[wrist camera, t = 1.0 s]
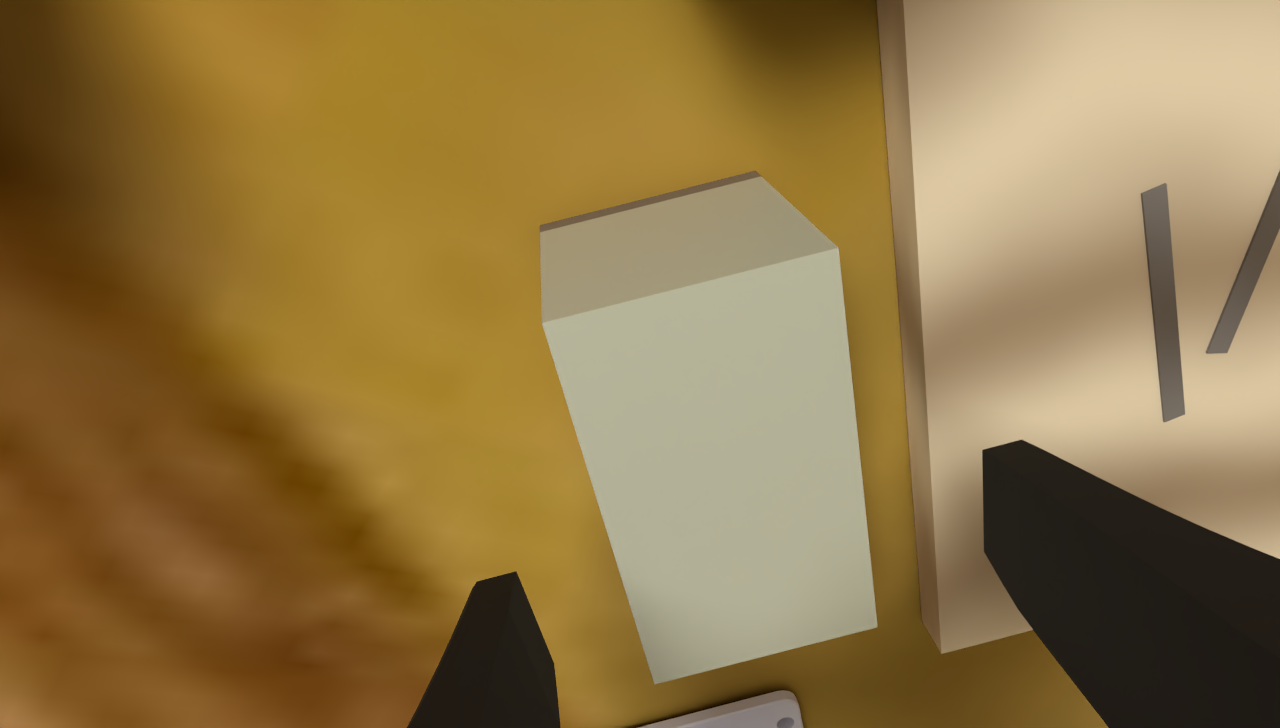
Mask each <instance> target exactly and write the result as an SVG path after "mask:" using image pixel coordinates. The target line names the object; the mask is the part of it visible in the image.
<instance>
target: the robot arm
mask: <svg viewBox="0 0 1280 728" xmlns="http://www.w3.org/2000/svg"><path fill="white" fill-rule="evenodd" d="M982 465H983V530H984V553H985V554H986V556H987V558H988V560H989V561H990V563H991V565H992V566H993V568H994V570H995V572H996V573H997V575H998V577H999V579H1000V580H1001V582H1002V584H1003V586H1004V587H1005V589H1006V590H1007V592H1008V594H1009V595H1010V597H1011V599H1012V600H1013V602H1014V604H1015V605H1016V607H1017V608H1018V610H1019V611H1020V613H1021V614H1022V616H1023V617H1024V618H1025V620H1026V621H1027V622H1028V624H1029V625H1030V626H1031V627H1032V629H1033V630H1034V631H1035V633H1036V634H1037V635H1038V637H1039V638H1040V639H1041V641H1042V642H1043V643H1044V644H1045V646H1046V647H1047V648H1048V650H1049V651H1050V652H1051V654H1052V655H1053V656H1054V658H1055V659H1056V660H1057V661H1058V663H1059V664H1060V665H1061V667H1062V668H1063V669H1064V670H1065V672H1066V673H1067V674H1068V676H1069V677H1070V678H1071V679H1072V681H1073V682H1074V683H1075V685H1076V686H1077V687H1078V688H1079V690H1080V691H1081V692H1082V694H1083V695H1084V696H1085V697H1086V699H1087V700H1088V701H1089V703H1090V704H1091V705H1092V706H1093V708H1094V709H1095V710H1096V712H1097V713H1098V714H1099V715H1100V717H1101V718H1102V719H1103V721H1104V722H1105V723H1106V724H1107V726H1108V727H1109V728H1280V559H1279V558H1276V557H1274V556H1271V555H1268V554H1266V553H1263V552H1261V551H1258V550H1256V549H1254V548H1251V547H1249V546H1246V545H1244V544H1242V543H1239V542H1237V541H1235V540H1232V539H1230V538H1228V537H1225V536H1223V535H1220V534H1218V533H1216V532H1213V531H1211V530H1209V529H1206V528H1204V527H1202V526H1200V525H1197V524H1195V523H1193V522H1191V521H1189V520H1186V519H1184V518H1182V517H1180V516H1177V515H1175V514H1173V513H1171V512H1169V511H1167V510H1165V509H1162V508H1160V507H1158V506H1156V505H1154V504H1152V503H1150V502H1148V501H1146V500H1143V499H1141V498H1139V497H1137V496H1135V495H1133V494H1131V493H1129V492H1127V491H1125V490H1123V489H1121V488H1119V487H1117V486H1115V485H1113V484H1111V483H1109V482H1107V481H1105V480H1103V479H1101V478H1099V477H1097V476H1095V475H1093V474H1091V473H1089V472H1087V471H1085V470H1083V469H1081V468H1079V467H1077V466H1075V465H1073V464H1071V463H1069V462H1067V461H1065V460H1063V459H1061V458H1059V457H1057V456H1055V455H1053V454H1051V453H1049V452H1047V451H1045V450H1043V449H1041V448H1039V447H1037V446H1035V445H1033V444H1030V443H1028V442H1026V441H1024V440H1018V441H1014V442H1010V443H1007V444H1003V445H999V446H995V447H991V448H987V449H984V450H982ZM407 728H560V718H559V707H558V697H557V687H556V678H555V669H554V662H553V660H552V658H551V655H550V653H549V650H548V648H547V645H546V643H545V640H544V638H543V636H542V633H541V631H540V628H539V626H538V623H537V621H536V618H535V616H534V614H533V611H532V609H531V606H530V604H529V601H528V599H527V596H526V594H525V592H524V589H523V587H522V584H521V582H520V579H519V577H518V574H517V572H512V573H508V574H504V575H501V576H497V577H493V578H489V579H485V580H481V581H478V582H476V584H475V586H474V587H473V589H472V591H471V593H470V595H469V598H468V600H467V602H466V605H465V607H464V609H463V612H462V614H461V616H460V618H459V621H458V623H457V625H456V628H455V630H454V632H453V634H452V637H451V639H450V641H449V643H448V645H447V648H446V650H445V652H444V654H443V656H442V658H441V661H440V663H439V665H438V667H437V669H436V671H435V673H434V675H433V677H432V679H431V681H430V683H429V685H428V687H427V689H426V691H425V693H424V695H423V697H422V700H421V702H420V704H419V706H418V708H417V710H416V712H415V713H414V715H413V717H412V719H411V721H410V723H409V725H408V727H407ZM638 728H803V723H802V718H801V713H800V707H799V704H798V702H797V699H796V697H795V695H794V694H793V693H792V692H790V691H785V690H781V691H775V692H771V693H767V694H764V695H760V696H756V697H752V698H748V699H744V700H741V701H737V702H733V703H729V704H725V705H722V706H718V707H714V708H710V709H706V710H703V711H699V712H695V713H691V714H687V715H683V716H680V717H676V718H672V719H668V720H664V721H661V722H657V723H653V724H649V725H645V726H642V727H638Z"/></svg>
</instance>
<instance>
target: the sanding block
mask: <svg viewBox="0 0 1280 728" xmlns="http://www.w3.org/2000/svg"><path fill="white" fill-rule="evenodd" d="M540 251H541V301H542V325H543V328H544V331H545V334H546V338H547V341H548V344H549V347H550V351H551V354H552V357H553V360H554V363H555V367H556V370H557V373H558V376H559V379H560V383H561V386H562V389H563V392H564V395H565V399H566V402H567V405H568V408H569V412H570V415H571V418H572V421H573V424H574V428H575V431H576V434H577V437H578V440H579V444H580V447H581V450H582V453H583V456H584V460H585V463H586V466H587V469H588V473H589V476H590V479H591V482H592V485H593V489H594V492H595V495H596V498H597V501H598V505H599V508H600V511H601V514H602V517H603V521H604V524H605V527H606V530H607V534H608V537H609V540H610V543H611V546H612V550H613V553H614V556H615V559H616V562H617V566H618V569H619V572H620V575H621V578H622V582H623V585H624V588H625V591H626V595H627V598H628V601H629V604H630V607H631V611H632V614H633V617H634V620H635V623H636V627H637V630H638V633H639V636H640V639H641V643H642V646H643V649H644V652H645V656H646V659H647V662H648V665H649V668H650V672H651V675H652V678H653V681H654V684H658V683H662V682H666V681H670V680H674V679H678V678H682V677H686V676H690V675H693V674H697V673H701V672H705V671H709V670H713V669H717V668H721V667H725V666H729V665H732V664H736V663H740V662H744V661H748V660H752V659H756V658H760V657H764V656H768V655H771V654H775V653H779V652H783V651H787V650H791V649H795V648H799V647H803V646H807V645H810V644H814V643H818V642H822V641H826V640H830V639H834V638H838V637H842V636H846V635H849V634H853V633H857V632H861V631H865V630H869V629H873V628H877V627H878V626H877V616H876V606H875V597H874V587H873V577H872V568H871V558H870V548H869V539H868V529H867V519H866V510H865V500H864V490H863V481H862V471H861V461H860V452H859V442H858V432H857V423H856V413H855V403H854V394H853V384H852V374H851V365H850V355H849V345H848V336H847V326H846V316H845V307H844V297H843V287H842V278H841V268H840V258H839V249H838V247H837V246H836V245H835V244H834V243H833V242H832V241H831V240H829V239H828V238H827V237H826V236H825V235H824V234H823V233H822V232H821V231H820V230H819V229H818V228H817V227H815V226H814V225H813V224H812V223H811V222H810V221H809V220H808V219H807V218H806V217H805V216H804V215H803V214H801V213H800V212H799V211H798V210H797V209H796V208H795V207H794V206H793V205H792V204H791V203H790V202H789V201H787V200H786V199H785V198H784V197H783V196H782V195H781V194H780V193H779V192H778V191H777V190H776V189H775V188H773V187H772V186H771V185H770V184H769V183H768V182H767V181H766V180H765V179H764V178H763V177H762V176H761V175H759V174H758V173H757V172H756V171H753V172H749V173H745V174H741V175H737V176H733V177H729V178H725V179H721V180H717V181H713V182H709V183H705V184H702V185H698V186H694V187H690V188H686V189H682V190H678V191H674V192H670V193H666V194H662V195H658V196H654V197H650V198H646V199H642V200H638V201H634V202H631V203H627V204H623V205H619V206H615V207H611V208H607V209H603V210H599V211H595V212H591V213H587V214H583V215H579V216H575V217H571V218H567V219H563V220H559V221H556V222H552V223H548V224H544V225H540Z"/></svg>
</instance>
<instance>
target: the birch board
mask: <svg viewBox="0 0 1280 728" xmlns="http://www.w3.org/2000/svg"><path fill="white" fill-rule="evenodd" d="M876 2H877V15H878V29H879V43H880V56H881V70H882V83H883V97H884V111H885V124H886V138H887V152H888V165H889V179H890V192H891V206H892V220H893V233H894V247H895V261H896V274H897V288H898V301H899V315H900V329H901V342H902V356H903V370H904V383H905V397H906V410H907V424H908V438H909V451H910V465H911V479H912V492H913V506H914V519H915V533H916V547H917V560H918V574H919V588H920V601H921V615H922V622H923V624H924V626H925V627H926V629H927V631H928V632H929V634H930V636H931V637H932V639H933V641H934V642H935V644H936V646H937V648H938V649H939V651H940V653H941V654H944V653H947V652H951V651H955V650H959V649H963V648H967V647H970V646H974V645H978V644H982V643H986V642H989V641H993V640H997V639H1001V638H1005V637H1008V636H1012V635H1016V634H1020V633H1024V632H1028V631H1031V630H1033V629H1032V627H1031V626H1030V625H1029V624H1028V622H1027V621H1026V620H1025V618H1024V617H1023V616H1022V614H1021V613H1020V611H1019V610H1018V608H1017V607H1016V605H1015V604H1014V602H1013V600H1012V599H1011V597H1010V595H1009V594H1008V592H1007V590H1006V589H1005V587H1004V586H1003V584H1002V582H1001V580H1000V579H999V577H998V575H997V573H996V572H995V570H994V568H993V566H992V565H991V563H990V561H989V560H988V558H987V556H986V554H985V553H984V530H983V465H982V450H984V449H987V448H991V447H995V446H999V445H1003V444H1007V443H1010V442H1014V441H1018V440H1024V441H1026V442H1028V443H1030V444H1033V445H1035V446H1037V447H1039V448H1041V449H1043V450H1045V451H1047V452H1049V453H1051V454H1053V455H1055V456H1057V457H1059V458H1061V459H1063V460H1065V461H1067V462H1069V463H1071V464H1073V465H1075V466H1077V467H1079V468H1081V469H1083V470H1085V471H1087V472H1089V473H1091V474H1093V475H1095V476H1097V477H1099V478H1101V479H1103V480H1105V481H1107V482H1109V483H1111V484H1113V485H1115V486H1117V487H1119V488H1121V489H1123V490H1125V491H1127V492H1129V493H1131V494H1133V495H1135V496H1137V497H1139V498H1141V499H1143V500H1146V501H1148V502H1150V503H1152V504H1154V505H1156V506H1158V507H1160V508H1162V509H1165V510H1167V511H1169V512H1171V513H1173V514H1175V515H1177V516H1180V517H1182V518H1184V519H1186V520H1189V521H1191V522H1193V523H1195V524H1197V525H1200V526H1202V527H1204V528H1206V529H1209V530H1211V531H1213V532H1216V533H1218V534H1220V535H1223V536H1225V537H1228V538H1230V539H1232V540H1235V541H1237V542H1239V543H1242V544H1244V545H1246V546H1249V547H1251V548H1254V549H1256V550H1258V551H1261V552H1263V553H1266V554H1268V555H1271V556H1274V557H1276V558H1279V559H1280V0H876Z"/></svg>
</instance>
